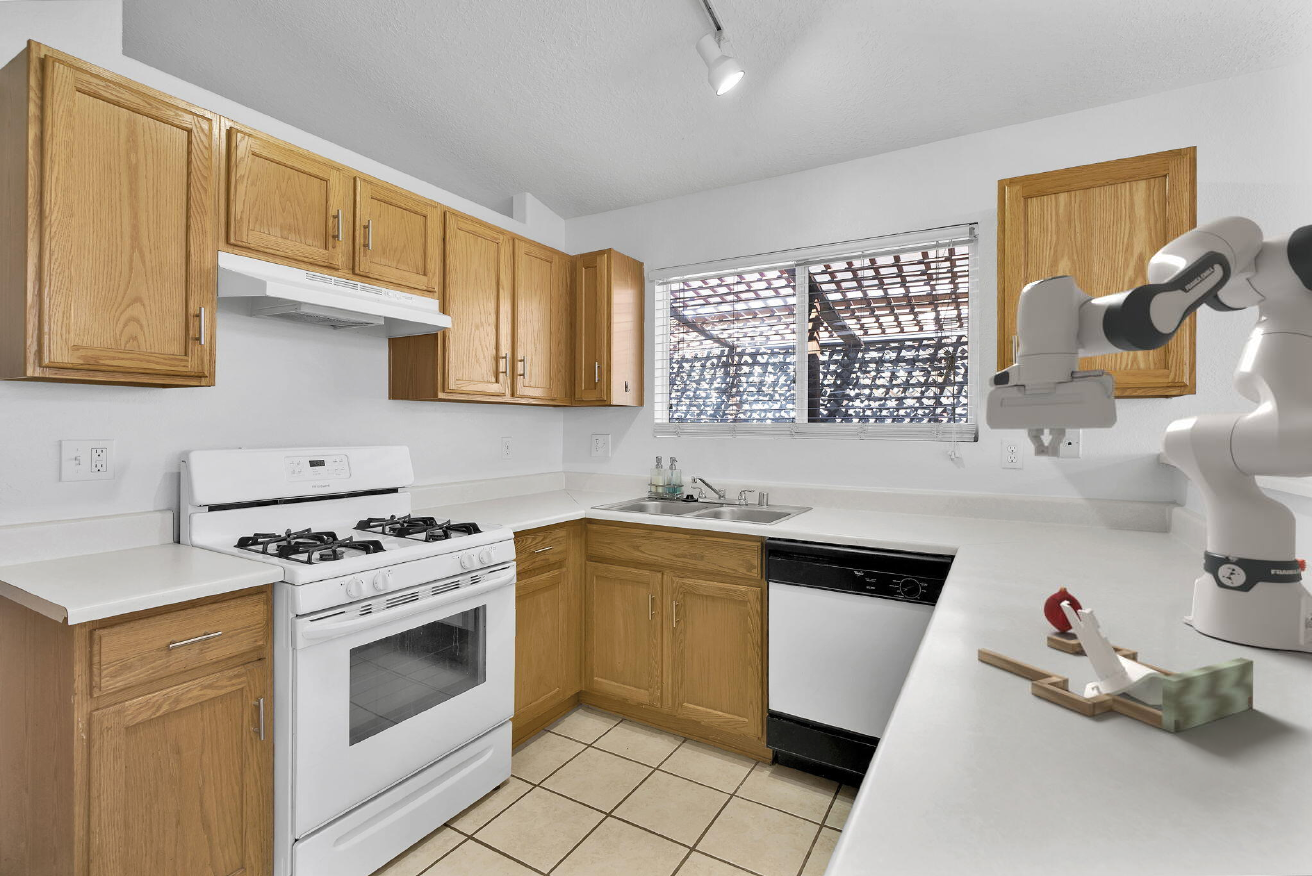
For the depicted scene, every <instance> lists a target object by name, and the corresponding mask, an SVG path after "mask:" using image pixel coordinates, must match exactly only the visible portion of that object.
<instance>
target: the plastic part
mask: <svg viewBox="0 0 1312 876" xmlns="http://www.w3.org/2000/svg"><path fill="white" fill-rule="evenodd" d="M1067 604H1070V602H1068V601H1064V602H1062V603H1061V604H1060V605H1061V607H1062V609H1063V611H1064V613H1065V614H1066V616H1067V618H1068V620H1069V622H1070V624H1071V626H1072V628H1073V629H1072V630H1073V631H1074V633H1075V635H1076V637H1077V639H1079V641H1080V643H1081V645H1082V647H1083V649H1084V651H1085V652H1086V654H1087V656H1086V657H1087V658H1088V660H1089V662H1090V664H1091V666H1092V668H1093V670H1094V672H1095V673H1096V676H1097V677H1098V679H1099V680H1100V681H1095V682H1090V683H1087V684H1086V686H1085V690H1084V694H1083V697H1085V698H1090V697H1094V696H1098V695H1102V694H1105V693H1110V694H1113V695H1116V696H1118V695H1120V694H1121V695H1122V694H1123V693H1125V694H1127V695H1129V696H1130V697H1133V698H1135V699H1137V700H1138V701H1141V702H1143V703H1145V704H1147V705H1149V706H1153V705H1154V706H1155V705H1160V706H1161V705H1162V689H1163V677H1167V676H1165V675H1164V674H1162V673H1160V672H1157V671H1155V670H1152V669H1150V668H1148V667H1145V666H1143V665H1141V664H1138V663H1136V662H1133V661H1131V660H1128V659H1126V658H1124V657H1122V656H1119V655H1117V654H1116V653H1115V651H1114V649H1113V648H1112V646H1111V644H1112V643H1111V642H1110V640H1109V639H1108V636H1106V635H1104V636H1102V635H1101V632H1100V631H1099V629H1101V625H1100V623H1099V621H1098V619H1097V618H1096V616H1095V614H1094V609H1092V608H1089V607H1088V608H1085V610H1083V609H1082V610H1078V611H1077V612H1078V615H1079V617H1080V619H1081V621H1080V620H1079V618H1078V617H1077V615H1076V613H1075V612H1074V610H1073V609H1072V608H1071V607H1070V606H1068V605H1067Z"/></svg>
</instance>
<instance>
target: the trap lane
mask: <svg viewBox="0 0 1312 876" xmlns="http://www.w3.org/2000/svg"><path fill="white" fill-rule="evenodd" d="M1046 642H1047V643H1046V646H1048V647H1051V648H1052V649H1053V648H1054V649H1057V650H1060V651H1062V652H1067V653H1068V654H1069V653H1070V654H1076V653H1077V654H1080V655H1083V656H1086V657H1088V656H1087V654H1086V652H1085V651H1084V649H1083V647H1082V645H1081V643H1080V641H1079V639H1078V638H1075V639H1071V640H1068V639H1065V638H1061V637H1058V636H1054V635H1048V636H1046ZM1110 644H1111V646H1112V648H1113V649H1114V651H1115V653H1116V654H1117V655H1119V656H1122V657H1124V658H1126V659H1128V660H1131V661H1133V662H1136V663H1138V664H1141V665H1143V666H1145V667H1148V668H1150V669H1152V670H1155V671H1157V672H1160V673H1162V674H1164V675H1165V676H1167V677H1163V689H1162V704H1161V706H1162V708H1161V710H1162V711H1161V710H1157V709H1155V708H1151V707H1149V706H1146V705H1143V704H1141V703H1138V702H1136V701H1132V700H1130V699H1126V698H1124V697H1121V696H1118V695H1113V694H1110V693H1105V694H1102V695H1098V696H1094V697H1090V698H1085V697H1084V696H1082V695H1079V694H1077V693H1074V692H1072V691H1069V689H1070V688H1069V677H1064V676H1062V675H1060V674H1056V673H1054V672H1051V671H1049V670H1045V669H1043V668H1040V667H1037V666H1034V665H1031V664H1029V663H1026V662H1022V661H1020V660H1017V659H1014V658H1012V657H1009V656H1006V655H1003V654H1001V653H998V652H995V651H992V650H990V649H987V648H978V649H977V660H980V661H983V662H985V663H987V664H990V665H992V666H995V667H998V668H1000V669H1003V670H1006V671H1009V672H1011V673H1014V674H1016V675H1020V676H1022V677H1024V678H1027V679H1029V680H1032V681H1031V686H1030V687H1031V689H1030V690H1031V694H1033V695H1035V696H1038V697H1041V698H1042V699H1045V700H1047V701H1050V702H1053V703H1055V704H1058V705H1061V706H1062V707H1065V708H1068V709H1071V710H1072V711H1075V712H1077V713H1080V714H1082V715H1084V716H1087V717H1092V716H1095V715H1100V714H1101V713H1102V714H1103V713H1106V712H1110V711H1114V712H1117V713H1120V714H1123V715H1125V716H1128V717H1131V718H1133V719H1136V720H1138V721H1140V722H1144V723H1146V724H1149V725H1152V726H1154V727H1157V728H1159V729H1162V730H1164V731H1168V732H1170V733H1172V734H1177V733H1179V732H1182V731H1185V730H1188V729H1192V728H1194V727H1199V726H1201V725H1203V724H1208V723H1210V722H1214V721H1216V720H1219V719H1222V718H1226V717H1229V716H1232V715H1236V714H1239V713H1241V712H1244V711H1248V710H1251V709H1253V707H1254V660H1252V659H1248V658H1243V657H1239V658H1233V659H1230V660H1227V661H1223V662H1218V663H1214V664H1210V665H1207V666H1204V667H1198V668H1195V669H1191V670H1187V671H1184V672H1174V671H1171V670H1167V669H1165V668H1161V667H1158V666H1154V665H1152V664H1148V663H1144V662H1141V661H1138V651H1136V650H1133V649H1129V648H1126V647H1123V646H1119V645H1115V644H1112V643H1110Z"/></svg>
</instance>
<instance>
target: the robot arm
mask: <svg viewBox="0 0 1312 876" xmlns="http://www.w3.org/2000/svg"><path fill="white" fill-rule="evenodd" d="M1147 280H1148V283H1149V284H1143V285H1140V286H1139V285H1138V286H1136V287H1133V288H1130V289H1128V290H1125V291H1121V292H1115V293H1111V294H1107V295H1103V296H1101V297H1100V296H1099V297H1095V296H1092V295H1089V293H1086V292H1084V291H1083V290H1082V289H1081V288H1080V287H1079V286H1078V285H1077V283H1076V279H1075V278H1074V276H1072V275H1064V274H1063V275H1057V276H1051V277H1047V278H1042V279H1040V280H1037V281H1033V282H1030V283H1028V284H1026V285H1025V286H1024V287H1023V289H1022V290H1021V293H1020V295H1019V299H1018V304H1017V305H1018V306H1017V313H1016V314H1017V315H1016V335H1017V339H1018V342H1019V345H1018V346H1019V347H1018V351H1017V354H1016V363H1015V364H1013V365H1011V366H1008V367H1007V368H1005V369H1003V370H1000V371H998V372H996V373H994V374H991V376H990V377H988V384H989V385H988V386H989V387H990V388H993V389H991V390H990V391H989V393H988V394H987V400H986V410H985V412H986V414H985V415H986V417H985V420H986V421H985V422H986V425H987V426H988V427H989V428H990V429H991V430H1027V438H1029V440H1030V442H1031V443H1032V445H1033V446H1034V456H1035V457H1047V458H1048V457H1050V458H1051V457H1052V458H1055V457H1058V456H1059V447H1060V445H1061V444H1062V442H1063V440H1064V439H1065V438H1066V435H1067V434H1066V433H1067V432H1066V430H1067V429H1068V430H1070V429H1071V430H1073V429H1074V430H1075V429H1076V430H1077V429H1080V430H1081V429H1083V430H1084V429H1112V428H1113V427H1114V425H1116V423H1117V419H1118V415H1117V404H1116V399H1115V394H1114V392H1115V378H1114V376H1113V375H1112V374H1111V373H1110V372H1108V371H1105V370H1104V369H1102V368H1099V369H1098V368H1097V369H1092V370H1080V369H1079V368H1080V366H1079V365H1080V363H1079V362H1080V358H1089V357H1090V358H1091V357H1097V356H1105V355H1113V354H1119V353H1126V352H1127V353H1128V352H1142V351H1145V352H1146V351H1155V350H1157V349H1160V348H1162V347H1164V346H1165V345H1167V344H1169V342H1171V340H1172V339H1173V338H1174V337H1175V335H1176V334H1177V333H1178V331H1179V329H1180V328H1181V326H1182V324H1184V322H1185V321H1186V320H1187V319H1188V317H1189V316H1190V315H1192V314H1193V312H1196V310H1197V309H1199V308H1200V307H1201V306H1202V305H1206V306H1207V307H1208V308H1210V309H1212V310H1214V311H1216V312H1221V313H1222V312H1223V313H1224V312H1225V313H1227V312H1229V313H1230V312H1236V311H1243V310H1245V309H1247V308H1249V307H1255V306H1258V319H1257V321H1256V323H1255V324H1254V326H1253V328H1252V329H1251V331H1250V334H1249V336H1248V338H1247V340H1246V343H1245V345H1244V347H1243V350H1242V352H1241V355H1240V358H1239V360H1238V363H1237V365H1236V368H1235V371H1234V373H1233V375H1232V376H1233V377H1232V380H1233V385H1234V388H1235V389H1236V391H1237V392H1238V393H1239V394H1240V395H1241V396H1242V397H1244V398H1245V399H1247V400H1249V401H1251V402H1253V403H1256V404H1259V405H1258V406H1257V408H1256V409H1254V410H1253V411H1248V412H1220V413H1217V412H1216V413H1215V412H1214V413H1211V412H1210V413H1202V414H1197V415H1191V416H1187V417H1186V416H1185V417H1183V418H1178V419H1175V420H1174V421H1172V422H1171V423H1170V424H1169V425H1168V427H1167V428H1166V430H1165V431H1164V433H1163V436H1162V441H1161V447H1162V450H1163V454H1164V455H1165V457H1166V459H1167V460H1168V462H1170V464H1171V465H1173V466H1174V467H1175V468H1177V469H1178V470H1180V471H1181V472H1182V473H1183V474H1185V476H1186V477H1188V478H1189V480H1190V481H1191V482H1192V483H1193V485H1194V486H1195V488H1196V489H1197V491H1198V493H1199V495H1200V497H1201V499H1202V503H1203V505H1204V510H1205V519H1206V520H1205V521H1206V535H1207V536H1206V537H1207V538H1206V539H1207V540H1206V541H1207V542H1206V543H1207V544H1206V547H1207V548H1206V550H1205V551H1204V553H1203V558H1202V563H1203V571H1204V572H1205V573H1204V574H1203V575H1202V576H1200V577H1199V578H1197V579H1196V580H1195V583H1194V590H1193V599H1192V608H1191V609H1192V610H1191V615H1185V616H1183V621H1182V622H1183V623H1185V624H1187V625H1190V626H1192V627H1193V628H1194V629H1195V630H1196V631H1197V632H1200V633H1202V634H1204V635H1207V636H1210V637H1214V638H1217V639H1221V640H1225V641H1229V642H1233V643H1237V644H1243V645H1247V646H1248V645H1249V646H1254V647H1259V648H1267V649H1276V650H1277V649H1278V650H1287V651H1289V650H1290V651H1299V652H1306V653H1312V594H1311V592H1309V590H1308V589H1307V588H1306V587H1305V586H1304V585H1303V584H1302V582H1301V581H1303V576H1302V572H1304V571H1306V568H1307V562H1306V560H1305V559H1303V558H1299V559H1298V558H1296V548H1297V547H1296V540H1297V539H1296V533H1297V532H1296V531H1297V525H1296V523H1297V522H1296V521H1297V519H1296V517H1295V515H1294V513H1293V512H1292V511H1291V509H1290V508H1288V506H1286V505H1285V504H1283V503H1282V502H1280V501H1278V500H1276V499H1274V498H1272V497H1269V496H1268V495H1266V494H1265V493H1264V492H1263V491H1262V490H1261V489H1260V488H1259V485H1258V484H1257V481H1256V476H1258V477H1260V476H1262V477H1279V478H1281V477H1282V478H1298V479H1299V478H1300V479H1301V478H1311V477H1312V224H1308V225H1303V226H1300V227H1298V228H1296V229H1295V230H1292V231H1288V232H1285V233H1282V234H1278V235H1275V236H1272V237H1269V238H1266V239H1264V233H1263V231H1262V229H1261V227H1260V226H1259V225H1258V224H1257V223H1256V222H1255V221H1253V220H1252V219H1249V218H1247V217H1243V216H1239V215H1238V216H1235V215H1233V216H1225V217H1221V218H1218V219H1215V220H1211V221H1210V222H1207V223H1204V224H1202V225H1199V226H1197V227H1195V228H1193V229H1190V230H1189V231H1187V232H1185V233H1183V234H1182V235H1179V236H1178V237H1176V238H1175V239H1173V240H1172V241H1170V242H1169V243H1168V244H1166V245H1164V246H1163V247H1162V248H1160V250H1158V251H1157V252H1156V253H1155V254H1154V256H1153V257H1151V259H1150V260H1149V263H1148V265H1147ZM1045 429H1046V430H1048V436H1052V437H1051V438H1050V440H1049V442H1048V444H1047V445H1046V444H1045V442H1044V441H1043V438H1042V436H1044V435H1045Z"/></svg>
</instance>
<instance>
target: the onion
mask: <svg viewBox="0 0 1312 876" xmlns="http://www.w3.org/2000/svg"><path fill="white" fill-rule="evenodd" d="M1064 601H1068V602H1070V604H1067V605H1068V606H1070V607H1071V608H1072V609H1073V610H1074V612H1075V613H1076V615H1077V617H1078V618H1079V620H1080V621H1081V619H1080V617H1079V615H1078V612H1077V611H1078V610H1083V606H1082V605H1081V603H1080V601H1079V600H1078V599H1077V598H1076V597H1075V596H1073V594H1070V593H1069V592H1068V590H1067V587H1065V586H1061V587H1059V590H1058V591H1057V592H1055V593H1053V594H1051V595H1050V596H1049V597H1048V598H1046V600H1045V602H1044V606H1043V614H1044V616H1045V619H1046V620H1047V622H1049V623H1050V625H1051V626H1052V627H1054V628H1055V629H1056V630H1058V632H1060V633H1067V632H1069V631H1071V630H1073V628H1072V626H1071V624H1070V622H1069V620H1068V618H1067V616H1066V614H1065V613H1064V611H1063V609H1062V607H1061V605H1060V604H1061V603H1062V602H1064ZM1081 622H1082V621H1081Z"/></svg>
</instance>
